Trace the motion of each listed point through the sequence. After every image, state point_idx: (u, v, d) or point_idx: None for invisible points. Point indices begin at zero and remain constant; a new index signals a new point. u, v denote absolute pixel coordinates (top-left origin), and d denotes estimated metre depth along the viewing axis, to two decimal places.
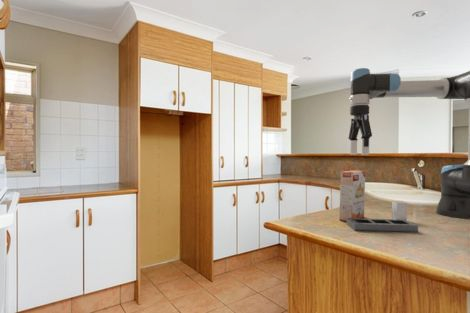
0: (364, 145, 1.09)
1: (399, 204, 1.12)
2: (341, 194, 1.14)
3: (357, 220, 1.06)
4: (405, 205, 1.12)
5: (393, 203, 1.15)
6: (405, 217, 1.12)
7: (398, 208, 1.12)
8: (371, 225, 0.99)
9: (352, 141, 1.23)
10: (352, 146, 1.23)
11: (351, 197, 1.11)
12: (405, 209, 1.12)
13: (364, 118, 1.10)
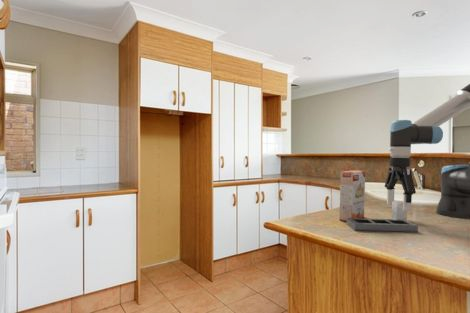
0: (406, 201, 1.07)
1: (399, 204, 1.12)
2: (341, 194, 1.14)
3: (357, 220, 1.06)
4: None
5: (393, 203, 1.15)
6: (405, 217, 1.12)
7: (398, 208, 1.12)
8: (371, 225, 0.99)
9: (389, 190, 1.21)
10: (389, 195, 1.21)
11: (351, 197, 1.11)
12: None
13: (407, 173, 1.07)
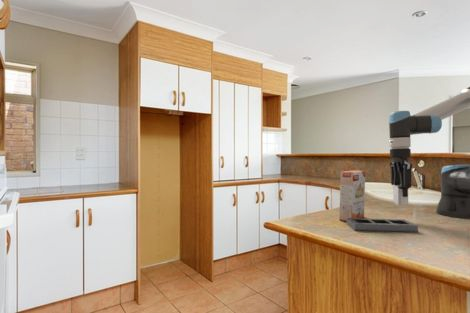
0: (403, 195, 1.11)
1: None
2: (341, 194, 1.14)
3: (357, 220, 1.06)
4: None
5: (394, 187, 1.15)
6: None
7: (399, 191, 1.12)
8: (371, 225, 0.99)
9: None
10: None
11: (351, 197, 1.11)
12: None
13: (407, 168, 1.08)
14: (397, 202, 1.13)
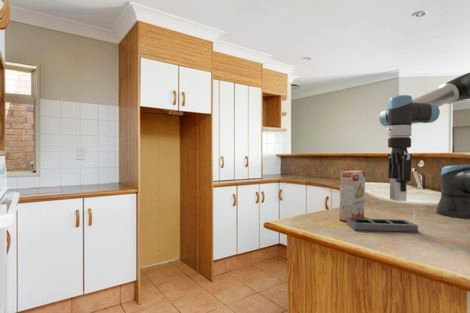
0: (401, 190, 0.99)
1: (398, 180, 1.00)
2: (341, 194, 1.14)
3: (357, 220, 1.06)
4: None
5: (391, 180, 1.03)
6: None
7: (397, 185, 1.00)
8: (371, 225, 0.99)
9: None
10: None
11: (351, 197, 1.11)
12: None
13: (406, 159, 0.96)
14: (394, 197, 1.01)
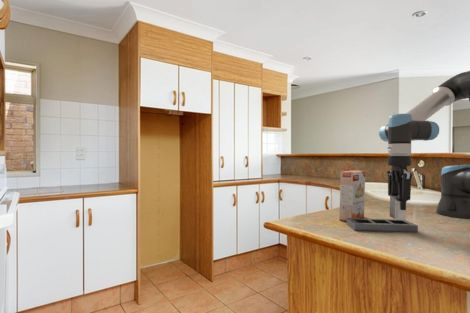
0: (401, 208, 0.99)
1: None
2: (341, 194, 1.14)
3: (357, 220, 1.06)
4: None
5: (391, 198, 1.03)
6: None
7: None
8: (371, 225, 0.99)
9: None
10: None
11: (351, 197, 1.11)
12: None
13: (406, 178, 0.96)
14: (394, 215, 1.01)
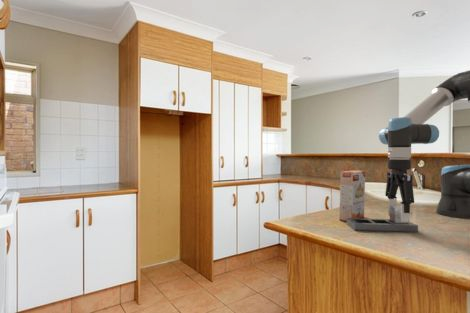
0: (404, 211, 0.97)
1: (397, 209, 1.00)
2: (341, 194, 1.14)
3: (357, 220, 1.06)
4: None
5: (391, 208, 1.03)
6: (404, 223, 1.00)
7: (397, 213, 1.01)
8: (371, 225, 0.99)
9: (391, 200, 1.07)
10: None
11: (351, 197, 1.11)
12: None
13: (407, 179, 0.96)
14: None
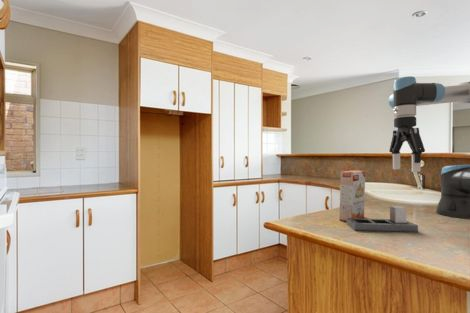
0: (415, 161, 1.00)
1: (398, 209, 1.00)
2: (341, 194, 1.14)
3: (357, 220, 1.06)
4: (405, 210, 1.00)
5: (391, 208, 1.03)
6: None
7: (397, 213, 1.00)
8: (371, 225, 0.99)
9: (395, 155, 1.14)
10: (395, 160, 1.14)
11: (351, 197, 1.11)
12: (405, 215, 1.00)
13: (414, 131, 1.01)
14: None
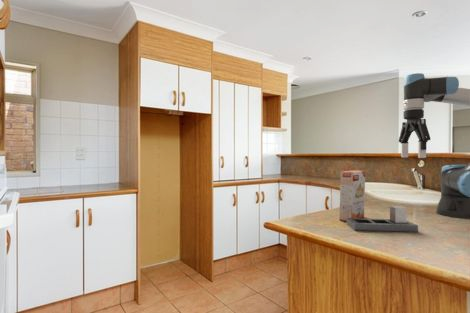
0: (421, 148, 1.13)
1: (398, 209, 1.00)
2: (341, 194, 1.14)
3: (357, 220, 1.06)
4: (405, 210, 1.00)
5: (391, 208, 1.03)
6: None
7: (397, 213, 1.00)
8: (371, 225, 0.99)
9: (403, 144, 1.27)
10: (403, 149, 1.27)
11: (351, 197, 1.11)
12: (405, 215, 1.00)
13: (421, 122, 1.13)
14: None
